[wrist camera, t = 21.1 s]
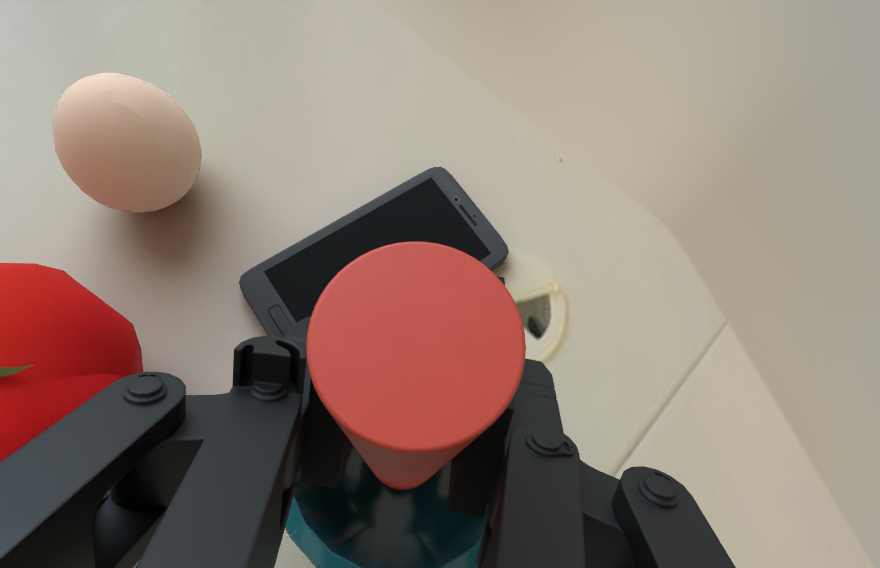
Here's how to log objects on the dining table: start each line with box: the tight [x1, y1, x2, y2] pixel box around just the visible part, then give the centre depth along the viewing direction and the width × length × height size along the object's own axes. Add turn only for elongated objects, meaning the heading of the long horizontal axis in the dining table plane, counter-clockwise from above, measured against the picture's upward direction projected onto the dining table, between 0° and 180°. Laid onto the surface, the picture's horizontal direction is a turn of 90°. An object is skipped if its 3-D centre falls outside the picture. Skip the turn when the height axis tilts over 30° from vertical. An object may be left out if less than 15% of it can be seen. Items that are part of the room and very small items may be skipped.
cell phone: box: [239, 167, 509, 338], centre depth 31 cm, size 7×14×1 cm, turn 125°
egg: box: [53, 73, 202, 213], centre depth 29 cm, size 7×7×8 cm
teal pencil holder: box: [285, 444, 488, 568], centre depth 23 cm, size 8×8×11 cm
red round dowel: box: [306, 242, 526, 490], centre depth 13 cm, size 2×2×15 cm
